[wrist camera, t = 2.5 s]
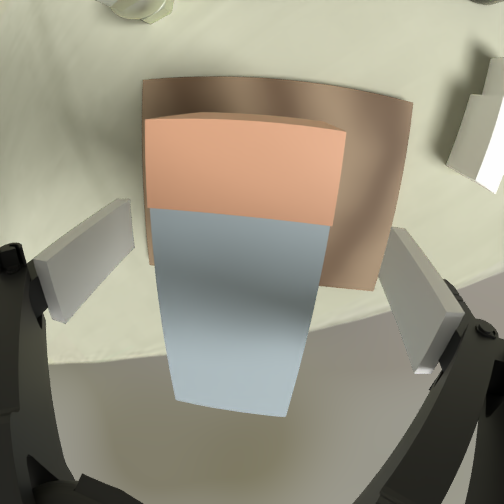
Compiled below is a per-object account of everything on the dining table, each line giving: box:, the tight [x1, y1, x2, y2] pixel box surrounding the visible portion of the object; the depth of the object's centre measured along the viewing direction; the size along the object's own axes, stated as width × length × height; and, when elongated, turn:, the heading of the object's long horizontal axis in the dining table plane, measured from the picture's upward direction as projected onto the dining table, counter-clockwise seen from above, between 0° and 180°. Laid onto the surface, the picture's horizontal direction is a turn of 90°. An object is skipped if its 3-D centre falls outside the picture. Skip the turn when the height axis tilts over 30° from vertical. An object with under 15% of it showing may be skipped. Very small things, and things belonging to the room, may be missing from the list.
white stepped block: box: [446, 57, 504, 194], centre depth 16 cm, size 15×11×6 cm
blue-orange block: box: [145, 112, 346, 417], centre depth 12 cm, size 5×11×6 cm, turn 176°
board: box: [142, 77, 413, 291], centre depth 19 cm, size 20×16×9 cm
